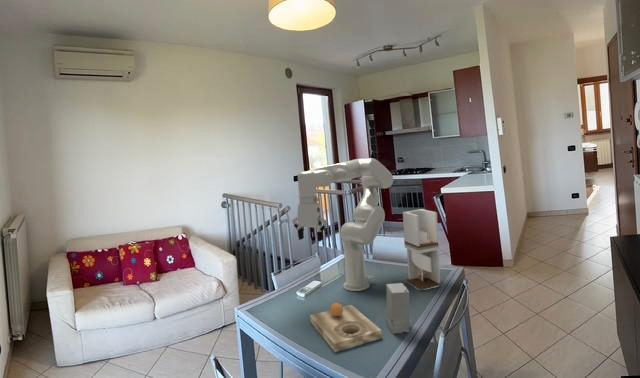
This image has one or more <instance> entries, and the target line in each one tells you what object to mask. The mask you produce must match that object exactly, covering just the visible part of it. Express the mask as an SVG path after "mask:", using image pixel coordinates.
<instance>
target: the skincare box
mask: <svg viewBox="0 0 640 378" xmlns="http://www.w3.org/2000/svg"><path fill="white" fill-rule="evenodd" d="M385 287H386V321H385V322H386V324H387V327H388V328H389V330H390V332H391V334H392V335H395V334H396V333H397V334H403V333H402V332H407V333H409V332H410V291H409V289H408V288H407V286H405V285H404V283H402V282H400V283H399V282H398V283H387V284H386V285H385ZM408 331H409V332H408Z"/></svg>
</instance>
